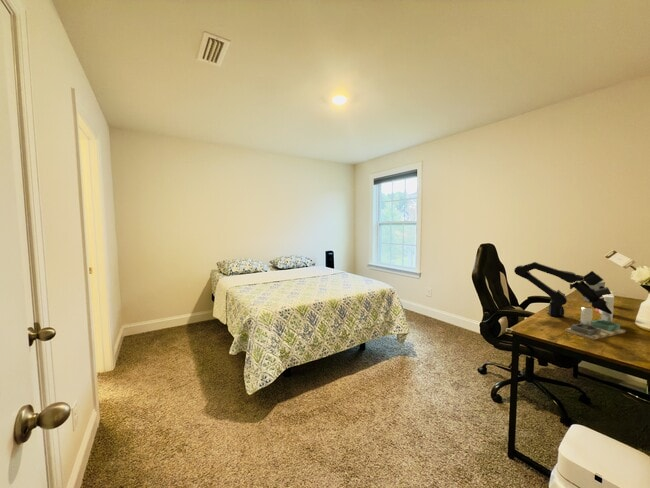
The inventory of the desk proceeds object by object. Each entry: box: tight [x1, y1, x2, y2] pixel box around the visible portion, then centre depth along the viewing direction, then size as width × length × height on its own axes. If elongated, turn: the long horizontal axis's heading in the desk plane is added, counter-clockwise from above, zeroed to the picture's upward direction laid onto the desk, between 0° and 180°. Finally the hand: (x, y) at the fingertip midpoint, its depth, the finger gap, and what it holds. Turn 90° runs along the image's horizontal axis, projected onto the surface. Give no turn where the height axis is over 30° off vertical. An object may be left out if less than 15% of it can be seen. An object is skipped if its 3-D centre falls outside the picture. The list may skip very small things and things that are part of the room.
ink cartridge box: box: [594, 290, 615, 315], centre depth 177 cm, size 9×5×15 cm, turn 168°
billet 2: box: [600, 301, 615, 323], centre depth 159 cm, size 4×4×12 cm
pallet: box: [564, 318, 626, 341], centre depth 149 cm, size 27×12×4 cm, turn 108°
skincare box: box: [582, 281, 606, 304], centre depth 200 cm, size 8×7×16 cm
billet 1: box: [579, 306, 594, 330], centre depth 146 cm, size 4×4×12 cm
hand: (610, 312), depth 158 cm, fingers closed on billet 2, 4 cm apart
